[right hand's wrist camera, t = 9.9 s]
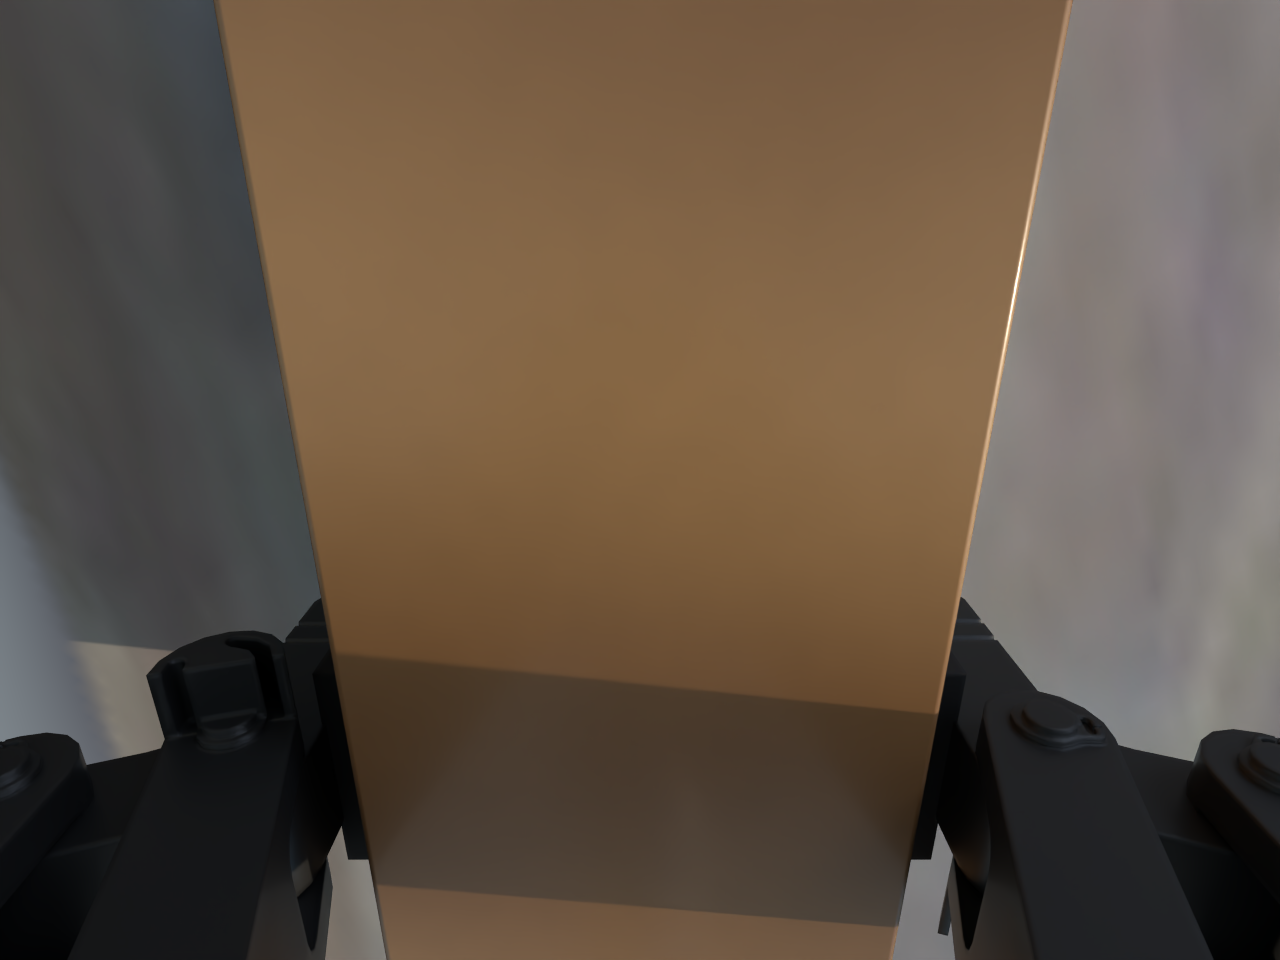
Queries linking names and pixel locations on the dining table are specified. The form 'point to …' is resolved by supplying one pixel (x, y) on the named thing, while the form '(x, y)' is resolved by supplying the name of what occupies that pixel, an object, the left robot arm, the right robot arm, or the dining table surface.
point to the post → (641, 438)
